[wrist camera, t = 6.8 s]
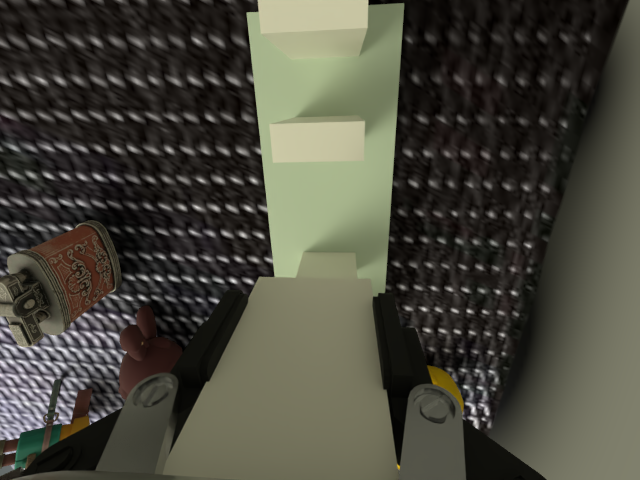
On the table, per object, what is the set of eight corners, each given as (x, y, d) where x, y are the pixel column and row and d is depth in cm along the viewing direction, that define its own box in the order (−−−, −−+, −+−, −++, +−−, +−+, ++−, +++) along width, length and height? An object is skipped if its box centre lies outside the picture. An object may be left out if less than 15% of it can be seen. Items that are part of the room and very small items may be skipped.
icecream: (197, 444, 34) (163, 328, 29) (125, 459, 32) (78, 342, 28) (208, 394, 40) (182, 293, 35) (148, 406, 39) (113, 303, 34)
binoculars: (88, 402, 45) (80, 475, 39) (4, 413, 40) (-22, 500, 33) (99, 363, 42) (91, 436, 35) (8, 370, 36) (-22, 458, 30)
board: (249, 15, 22) (246, 12, 22) (402, 6, 21) (404, 3, 21) (281, 321, 34) (280, 326, 33) (381, 323, 33) (382, 328, 32)
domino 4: (259, 277, 14) (130, 531, 6) (370, 278, 13) (410, 556, 5) (263, 313, 15) (157, 580, 6) (369, 315, 14) (400, 606, 6)
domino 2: (294, 117, 24) (269, 124, 16) (357, 115, 24) (364, 121, 16) (296, 143, 25) (272, 162, 17) (357, 142, 25) (363, 161, 16)
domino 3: (303, 252, 29) (286, 310, 21) (355, 252, 29) (359, 311, 20) (304, 270, 30) (288, 333, 22) (355, 270, 29) (359, 335, 21)
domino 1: (289, 27, 22) (255, -20, 13) (359, 23, 21) (368, -28, 13) (291, 59, 22) (260, 33, 14) (358, 56, 22) (367, 27, 14)
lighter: (75, 219, 30) (-41, 269, 21) (107, 221, 30) (4, 271, 21) (97, 287, 34) (6, 355, 25) (127, 289, 33) (45, 358, 24)
